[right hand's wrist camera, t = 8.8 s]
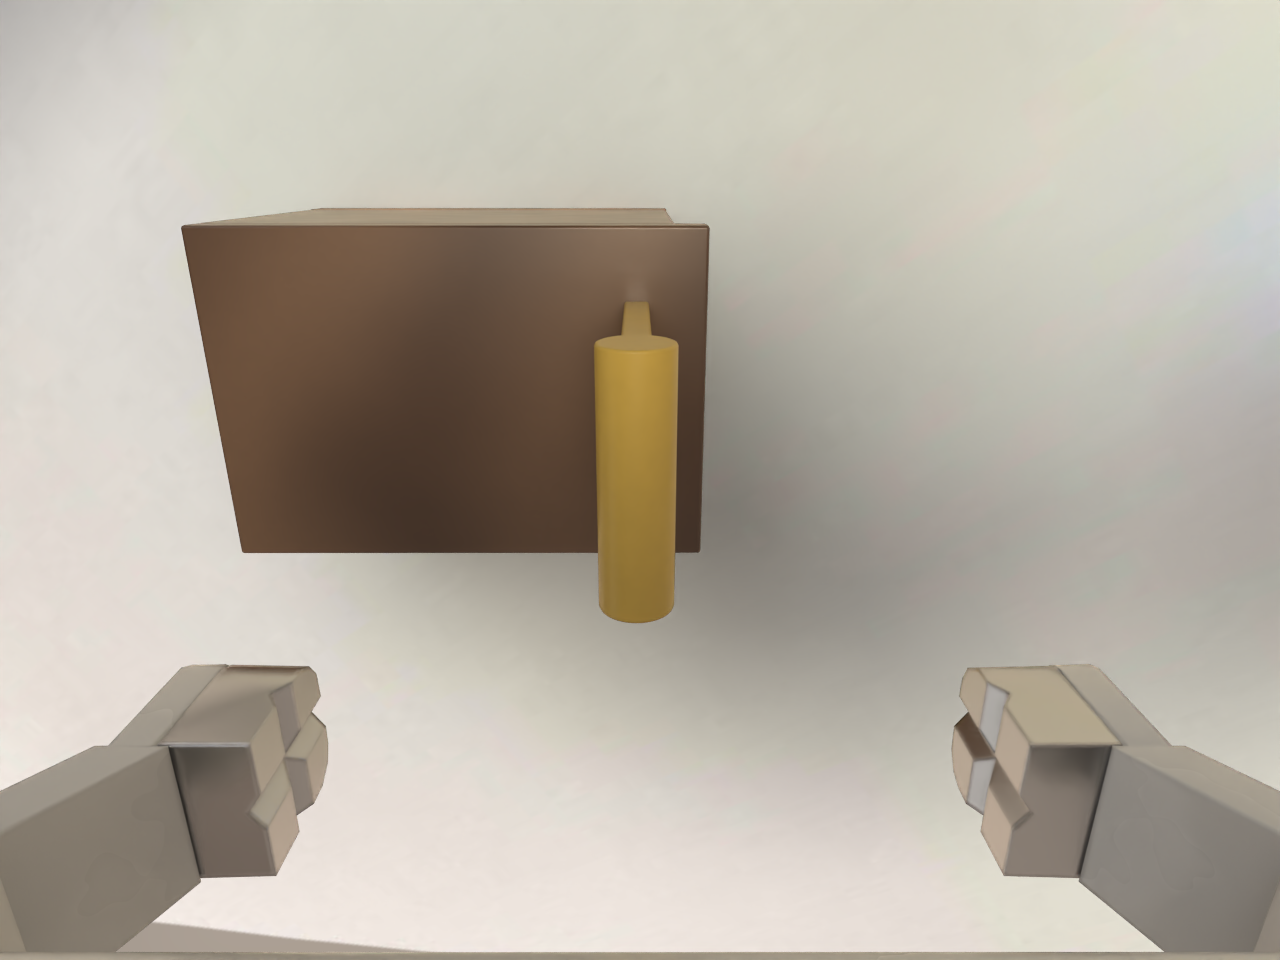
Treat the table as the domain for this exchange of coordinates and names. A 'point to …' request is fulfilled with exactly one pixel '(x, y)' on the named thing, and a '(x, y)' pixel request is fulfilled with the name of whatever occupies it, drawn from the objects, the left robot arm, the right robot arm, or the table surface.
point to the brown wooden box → (468, 216)
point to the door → (463, 390)
